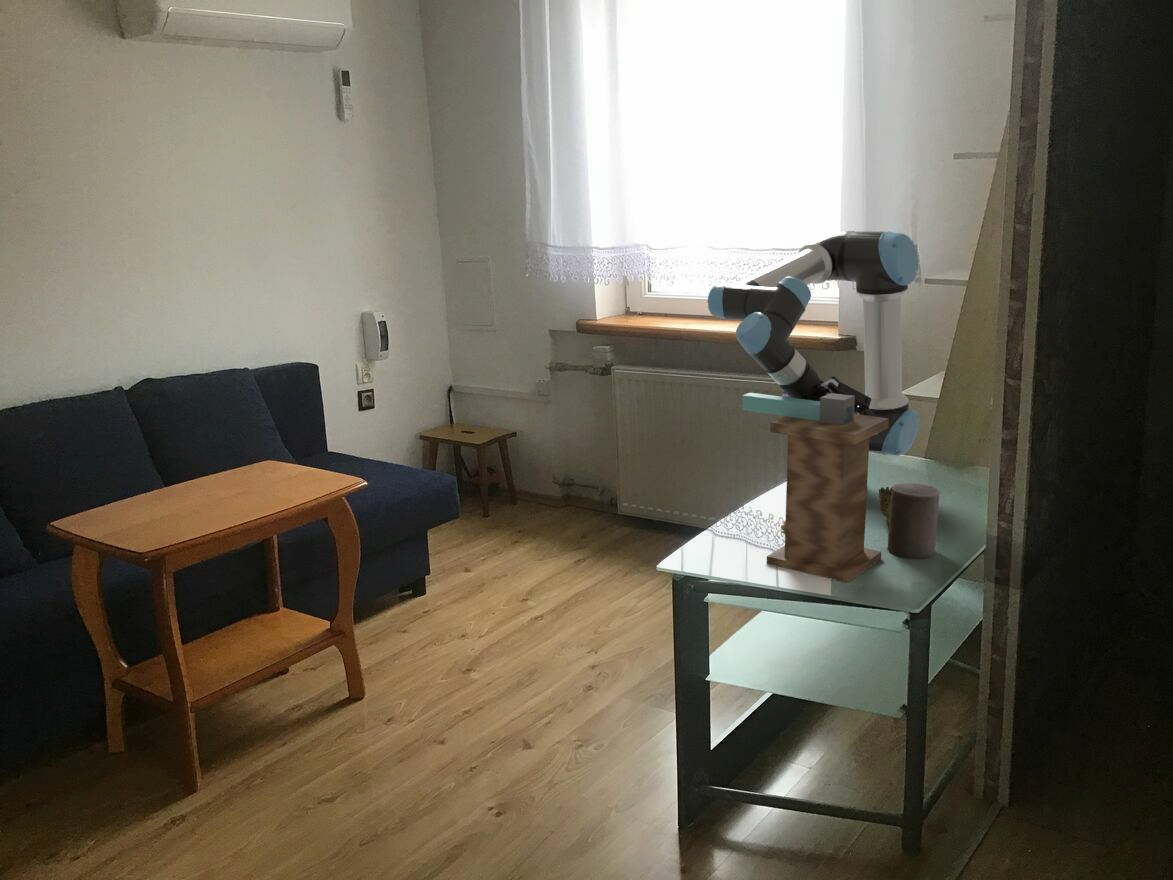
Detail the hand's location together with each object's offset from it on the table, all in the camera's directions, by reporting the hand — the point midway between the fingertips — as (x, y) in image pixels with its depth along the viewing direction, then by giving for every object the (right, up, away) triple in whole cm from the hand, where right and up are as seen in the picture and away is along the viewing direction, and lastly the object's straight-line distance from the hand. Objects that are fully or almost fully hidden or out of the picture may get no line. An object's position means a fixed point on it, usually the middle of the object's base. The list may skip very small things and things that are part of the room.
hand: (850, 436), depth 227 cm
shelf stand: (-8, -26, -10) cm, 29 cm away
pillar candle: (+12, -24, -4) cm, 27 cm away
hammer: (-14, +4, -12) cm, 20 cm away
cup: (+13, -20, +12) cm, 27 cm away
